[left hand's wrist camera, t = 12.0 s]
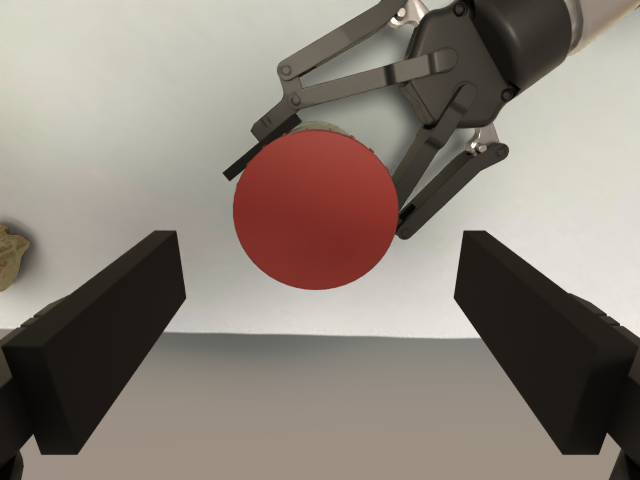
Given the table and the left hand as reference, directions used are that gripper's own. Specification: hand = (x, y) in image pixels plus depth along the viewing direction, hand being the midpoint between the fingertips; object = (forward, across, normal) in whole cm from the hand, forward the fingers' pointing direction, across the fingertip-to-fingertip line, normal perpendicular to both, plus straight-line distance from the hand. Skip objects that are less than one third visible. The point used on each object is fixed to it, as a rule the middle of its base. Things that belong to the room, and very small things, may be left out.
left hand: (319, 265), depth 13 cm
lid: (+6, 0, 0) cm, 6 cm away
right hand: (+15, -4, -3) cm, 16 cm away
